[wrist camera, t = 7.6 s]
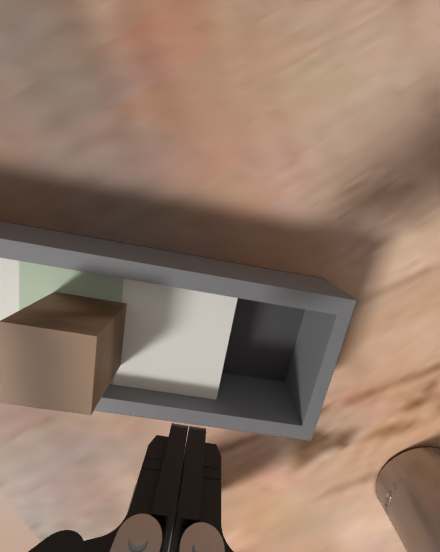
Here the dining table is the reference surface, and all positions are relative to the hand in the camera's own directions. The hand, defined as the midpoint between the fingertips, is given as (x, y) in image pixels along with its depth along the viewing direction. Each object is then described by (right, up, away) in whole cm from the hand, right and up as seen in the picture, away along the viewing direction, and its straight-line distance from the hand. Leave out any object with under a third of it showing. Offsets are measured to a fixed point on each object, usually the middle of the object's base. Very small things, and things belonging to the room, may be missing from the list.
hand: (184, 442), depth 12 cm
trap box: (-6, +4, +12) cm, 14 cm away
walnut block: (-8, +3, +8) cm, 12 cm away
